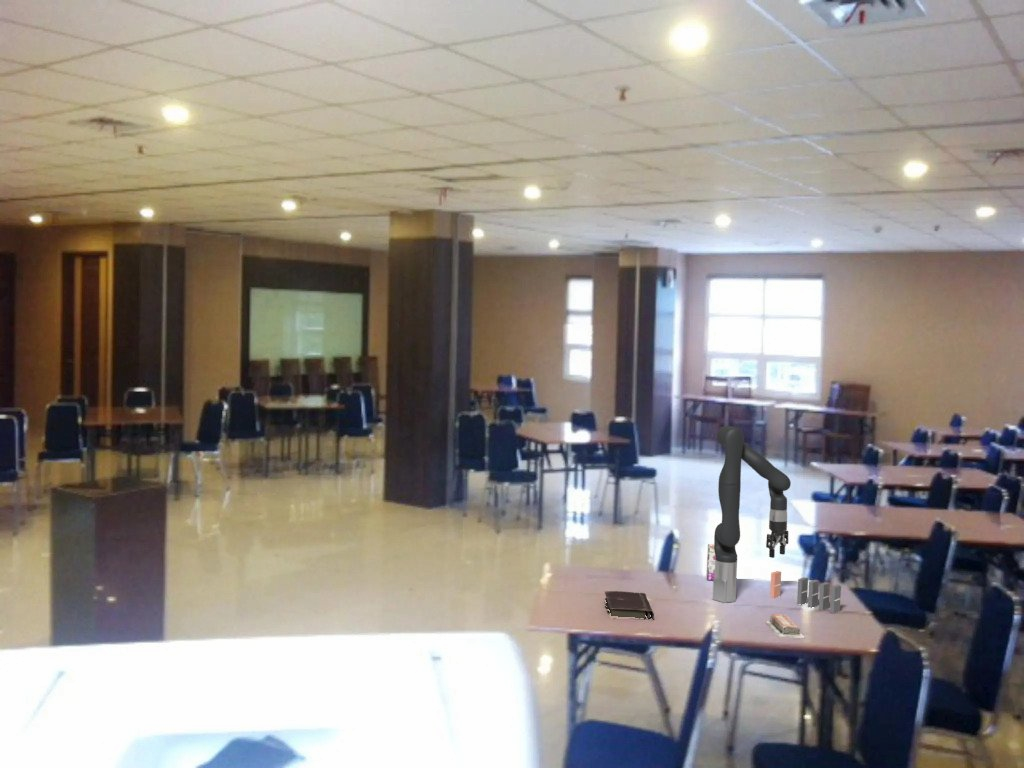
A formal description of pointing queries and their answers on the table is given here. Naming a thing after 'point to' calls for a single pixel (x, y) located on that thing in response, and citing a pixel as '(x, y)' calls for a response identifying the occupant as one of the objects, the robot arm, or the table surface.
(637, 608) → the diary
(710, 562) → the candy bar box
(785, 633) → the packaged product
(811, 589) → the domino
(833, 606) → the domino
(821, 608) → the domino
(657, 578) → the table surface
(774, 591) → the domino
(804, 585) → the domino
